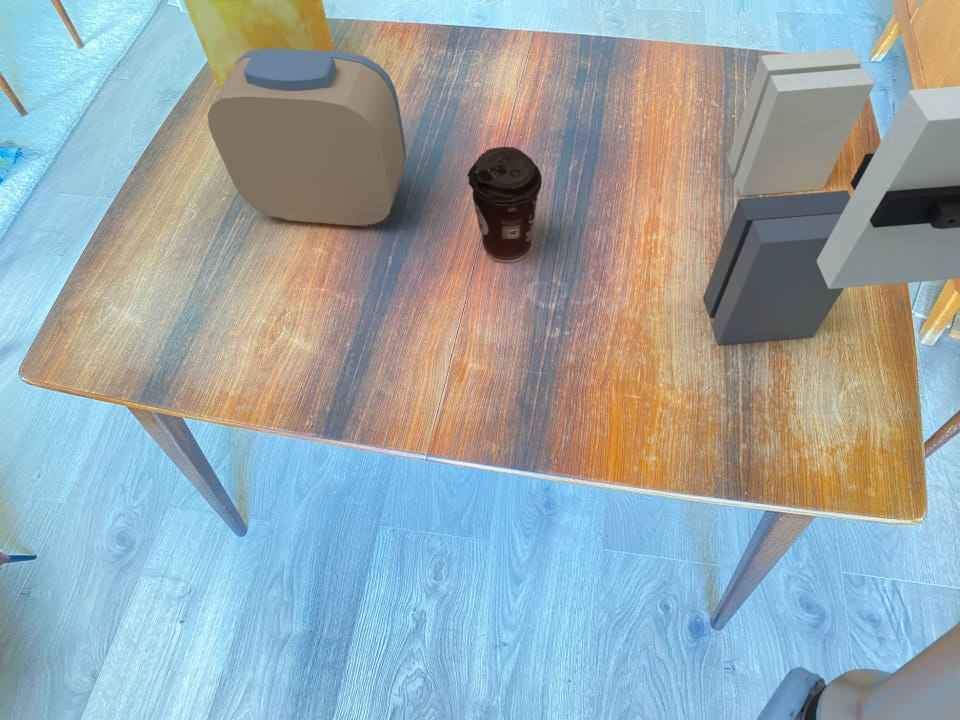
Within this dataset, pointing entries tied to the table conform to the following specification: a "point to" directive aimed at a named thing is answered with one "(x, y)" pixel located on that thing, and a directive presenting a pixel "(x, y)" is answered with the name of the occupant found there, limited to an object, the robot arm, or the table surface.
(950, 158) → the white book
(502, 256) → the coffee cup
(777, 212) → the grey books
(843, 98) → the white books
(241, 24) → the yellow marbled panel
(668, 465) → the table surface
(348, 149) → the alarm clock
